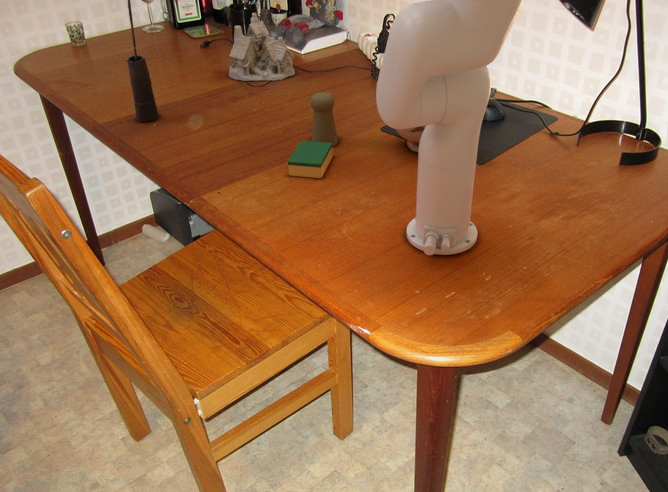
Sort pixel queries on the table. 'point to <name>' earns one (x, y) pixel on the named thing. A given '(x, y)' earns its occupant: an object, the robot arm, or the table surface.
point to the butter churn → (141, 83)
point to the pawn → (323, 118)
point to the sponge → (310, 159)
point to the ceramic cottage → (259, 55)
